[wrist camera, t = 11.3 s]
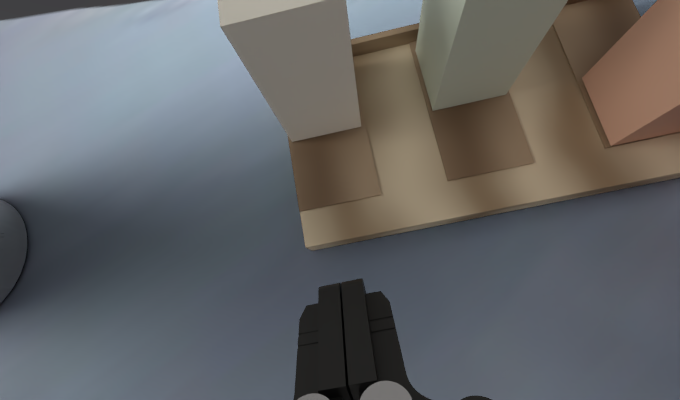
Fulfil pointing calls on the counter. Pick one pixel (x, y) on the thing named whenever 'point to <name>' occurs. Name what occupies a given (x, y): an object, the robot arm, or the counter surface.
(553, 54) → the board
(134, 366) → the counter surface
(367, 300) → the robot arm
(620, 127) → the key
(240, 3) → the grey rectangular block
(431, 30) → the grey green block
